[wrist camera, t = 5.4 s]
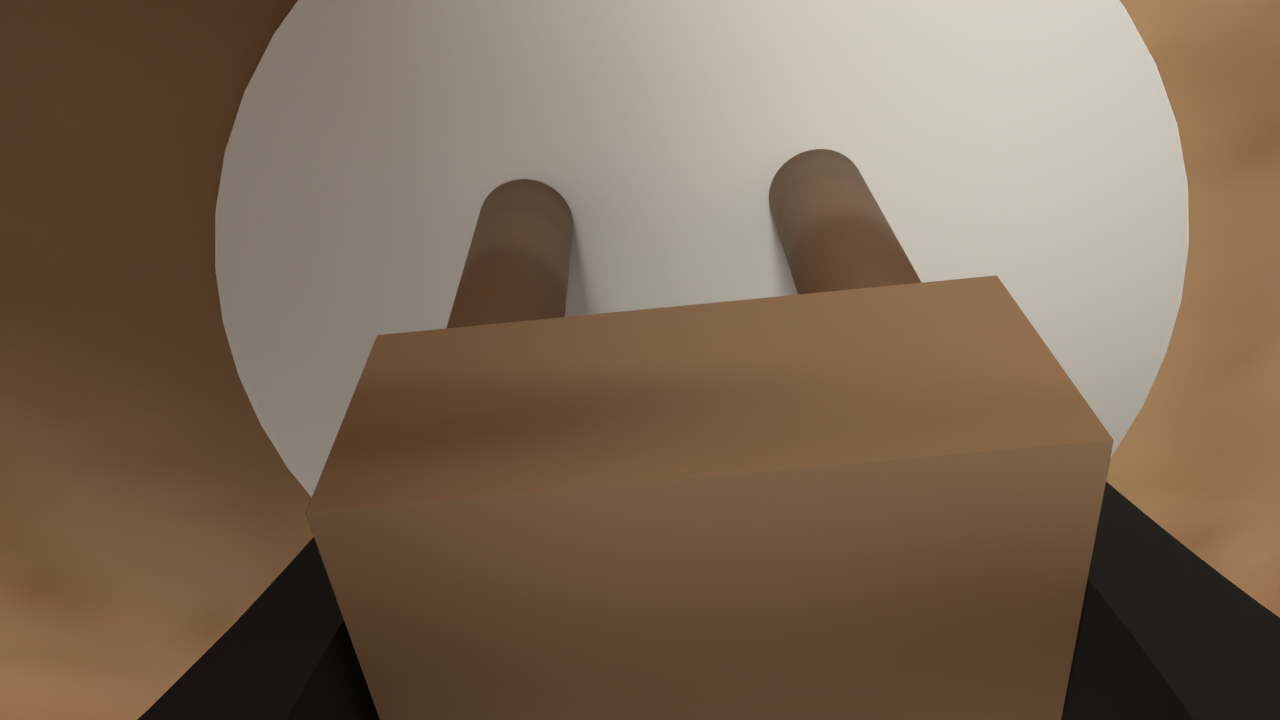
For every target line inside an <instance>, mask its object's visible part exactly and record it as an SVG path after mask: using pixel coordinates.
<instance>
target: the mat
mask: <svg viewBox="0 0 1280 720" xmlns="http://www.w3.org/2000/svg"><path fill="white" fill-rule="evenodd" d="M814 149H828V150H833V151H836V152H839V153H841V154H843V155H845V156H846V157H848V158H849V159H850V160H851V161H852V162H853V163H854V164H855V165H856V167H857V168H858V170H859V172H860V173H861V175H862V177H863V179H864V181H865V182H866V184H867V186H868V188H869V189H870V191H871V193H872V195H873V197H874V198H875V200H876V202H877V204H878V206H879V207H880V209H881V211H882V213H883V214H884V216H885V218H886V220H887V222H888V223H889V225H890V227H891V229H892V230H893V232H894V234H895V236H896V238H897V239H898V241H899V243H900V245H901V247H902V248H903V250H904V252H905V254H906V255H907V257H908V259H909V261H910V263H911V264H912V266H913V268H914V270H915V271H916V273H917V275H918V277H919V279H920V280H921V282H922V283H923V282H934V281H944V280H954V279H965V278H975V277H985V276H996V275H997V276H998V278H999V279H1000V280H1001V282H1002V283H1003V285H1004V286H1005V288H1006V289H1007V290H1008V292H1009V293H1010V295H1011V296H1012V297H1013V299H1014V300H1015V302H1016V303H1017V304H1018V306H1019V307H1020V309H1021V310H1022V312H1023V313H1024V314H1025V316H1026V317H1027V319H1028V320H1029V321H1030V323H1031V324H1032V326H1033V327H1034V328H1035V330H1036V331H1037V333H1038V334H1039V335H1040V337H1041V338H1042V340H1043V341H1044V343H1045V344H1046V345H1047V347H1048V348H1049V350H1050V351H1051V352H1052V354H1053V355H1054V357H1055V358H1056V359H1057V361H1058V362H1059V364H1060V365H1061V367H1062V368H1063V369H1064V371H1065V372H1066V374H1067V375H1068V376H1069V378H1070V379H1071V381H1072V382H1073V383H1074V385H1075V386H1076V388H1077V389H1078V391H1079V392H1080V393H1081V395H1082V396H1083V398H1084V399H1085V400H1086V402H1087V403H1088V405H1089V406H1090V407H1091V409H1092V410H1093V412H1094V413H1095V415H1096V416H1097V417H1098V419H1099V420H1100V422H1101V423H1102V424H1103V426H1104V427H1105V429H1106V430H1107V431H1108V433H1109V434H1110V436H1111V437H1112V438H1113V440H1114V441H1113V447H1112V452H1111V456H1112V455H1113V454H1114V452H1115V451H1116V449H1117V448H1118V446H1119V444H1120V443H1121V441H1122V439H1123V438H1124V436H1125V434H1126V433H1127V431H1128V430H1129V428H1130V426H1131V425H1132V423H1133V421H1134V420H1135V418H1136V416H1137V415H1138V413H1139V412H1140V410H1141V408H1142V407H1143V405H1144V402H1145V400H1146V398H1147V396H1148V394H1149V391H1150V389H1151V387H1152V385H1153V382H1154V380H1155V378H1156V376H1157V373H1158V371H1159V369H1160V367H1161V364H1162V362H1163V360H1164V358H1165V355H1166V352H1167V348H1168V345H1169V341H1170V338H1171V334H1172V331H1173V328H1174V324H1175V321H1176V317H1177V314H1178V310H1179V307H1180V303H1181V298H1182V291H1183V284H1184V276H1185V269H1186V262H1187V255H1188V247H1189V221H1188V183H1187V177H1186V171H1185V166H1184V160H1183V154H1182V149H1181V143H1180V137H1179V132H1178V126H1177V123H1176V120H1175V117H1174V114H1173V111H1172V108H1171V105H1170V103H1169V100H1168V97H1167V94H1166V91H1165V88H1164V85H1163V83H1162V80H1161V77H1160V74H1159V71H1158V68H1157V65H1156V63H1155V62H1154V60H1153V58H1152V56H1151V54H1150V53H1149V51H1148V49H1147V47H1146V45H1145V43H1144V42H1143V40H1142V38H1141V36H1140V34H1139V32H1138V31H1137V29H1136V27H1135V25H1134V23H1133V22H1132V20H1131V18H1130V16H1129V14H1128V12H1127V11H1126V9H1125V7H1124V6H1123V4H1122V3H1121V2H1120V1H1119V0H298V1H297V3H296V4H295V5H294V7H293V8H292V9H291V11H290V12H289V14H288V15H287V16H286V18H285V19H284V21H283V22H282V23H281V25H280V26H279V27H278V29H277V30H276V32H275V33H274V35H273V37H272V39H271V41H270V42H269V44H268V46H267V48H266V50H265V52H264V54H263V56H262V58H261V60H260V62H259V64H258V66H257V68H256V70H255V72H254V74H253V76H252V78H251V80H250V82H249V84H248V86H247V88H246V90H245V92H244V94H243V98H242V101H241V104H240V107H239V110H238V113H237V116H236V119H235V122H234V125H233V128H232V132H231V135H230V138H229V141H228V144H227V147H226V150H225V154H224V161H223V167H222V173H221V180H220V186H219V192H218V198H217V205H216V211H215V271H216V278H217V285H218V292H219V299H220V305H221V312H222V319H223V325H224V328H225V332H226V335H227V338H228V342H229V345H230V349H231V352H232V355H233V359H234V362H235V366H236V369H237V372H238V376H239V378H240V380H241V382H242V385H243V387H244V389H245V391H246V393H247V396H248V398H249V400H250V402H251V404H252V407H253V409H254V411H255V413H256V416H257V418H258V420H259V422H260V424H261V426H262V427H263V429H264V431H265V432H266V434H267V435H268V437H269V439H270V440H271V442H272V444H273V445H274V447H275V448H276V450H277V452H278V453H279V455H280V456H281V458H282V460H283V461H284V463H285V464H286V466H287V468H288V469H289V470H290V471H291V473H292V474H293V475H294V476H295V478H296V479H297V480H298V481H299V483H300V484H301V485H302V486H303V487H304V489H305V490H306V491H307V492H308V494H309V495H310V496H311V497H312V496H313V493H314V491H315V488H316V486H317V483H318V481H319V478H320V476H321V473H322V471H323V468H324V466H325V463H326V461H327V458H328V456H329V454H330V451H331V449H332V446H333V444H334V441H335V439H336V436H337V434H338V431H339V429H340V426H341V424H342V421H343V419H344V416H345V414H346V411H347V409H348V406H349V404H350V401H351V399H352V396H353V394H354V391H355V389H356V386H357V384H358V381H359V379H360V377H361V374H362V372H363V369H364V367H365V364H366V362H367V359H368V357H369V354H370V352H371V349H372V347H373V344H374V342H375V339H376V337H377V335H384V334H394V333H405V332H415V331H425V330H436V329H446V328H447V324H448V321H449V317H450V314H451V310H452V307H453V303H454V300H455V296H456V293H457V290H458V286H459V283H460V279H461V276H462V272H463V269H464V265H465V262H466V259H467V255H468V252H469V248H470V245H471V241H472V238H473V234H474V231H475V227H476V224H477V221H478V217H479V214H480V210H481V207H482V205H483V202H484V200H485V199H486V198H487V196H488V195H489V194H490V193H491V192H492V191H493V190H494V189H495V188H496V187H498V186H500V185H501V184H504V183H506V182H509V181H512V180H518V179H530V180H535V181H539V182H542V183H545V184H547V185H549V186H550V187H552V188H553V189H555V190H556V191H557V192H558V193H560V195H561V196H562V197H563V198H564V199H565V201H566V202H567V204H568V206H569V208H570V210H571V213H572V218H573V233H572V244H571V255H570V266H569V278H568V289H567V300H566V311H565V317H571V316H581V315H591V314H602V313H612V312H622V311H633V310H643V309H653V308H664V307H674V306H685V305H695V304H705V303H716V302H726V301H736V300H747V299H757V298H768V297H778V296H788V295H798V292H797V289H796V286H795V283H794V280H793V277H792V274H791V271H790V268H789V265H788V262H787V259H786V256H785V253H784V250H783V246H782V243H781V240H780V237H779V234H778V231H777V228H776V225H775V222H774V219H773V216H772V213H771V210H770V206H769V190H770V186H771V183H772V180H773V178H774V176H775V174H776V173H777V171H778V170H779V169H780V168H781V166H782V165H783V164H784V163H786V162H787V161H788V160H789V159H791V158H792V157H794V156H796V155H797V154H800V153H802V152H805V151H808V150H814Z"/></svg>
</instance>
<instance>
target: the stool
mask: <svg viewBox="0 0 1280 720" xmlns="http://www.w3.org/2000/svg"><path fill="white" fill-rule="evenodd" d="M769 206H770V210H771V213H772V216H773V219H774V222H775V225H776V228H777V231H778V234H779V237H780V240H781V243H782V246H783V250H784V253H785V256H786V259H787V262H788V265H789V268H790V271H791V274H792V277H793V280H794V283H795V286H796V289H797V292H798V295H788V296H778V297H768V298H757V299H747V300H736V301H726V302H716V303H705V304H695V305H685V306H674V307H664V308H653V309H643V310H633V311H622V312H612V313H602V314H591V315H581V316H571V317H565V311H566V300H567V289H568V278H569V266H570V255H571V244H572V233H573V218H572V213H571V210H570V208H569V206H568V204H567V202H566V201H565V199H564V198H563V197H562V196H561V195H560V193H558V192H557V191H556V190H555V189H553V188H552V187H550V186H549V185H547V184H545V183H542V182H539V181H535V180H530V179H518V180H512V181H509V182H506V183H504V184H501V185H500V186H498V187H496V188H495V189H494V190H493V191H492V192H491V193H490V194H489V195H488V196H487V198H486V199H485V200H484V202H483V205H482V207H481V210H480V214H479V217H478V221H477V224H476V227H475V231H474V234H473V238H472V241H471V245H470V248H469V252H468V255H467V259H466V262H465V265H464V269H463V272H462V276H461V279H460V283H459V286H458V290H457V293H456V296H455V300H454V303H453V307H452V310H451V314H450V317H449V321H448V324H447V328H446V329H436V330H425V331H415V332H405V333H394V334H384V335H377V337H376V339H375V342H374V344H373V347H372V349H371V352H370V354H369V357H368V359H367V362H366V364H365V367H364V369H363V372H362V374H361V377H360V379H359V381H358V384H357V386H356V389H355V391H354V394H353V396H352V399H351V401H350V404H349V406H348V409H347V411H346V414H345V416H344V419H343V421H342V424H341V426H340V429H339V431H338V434H337V436H336V439H335V441H334V444H333V446H332V449H331V451H330V454H329V456H328V458H327V461H326V463H325V466H324V468H323V471H322V473H321V476H320V478H319V481H318V483H317V486H316V488H315V491H314V493H313V496H312V498H311V501H310V503H309V506H308V508H307V511H306V516H307V519H308V521H309V524H310V527H311V530H312V533H313V535H314V538H315V541H316V544H317V546H318V549H319V552H320V555H321V558H322V560H323V563H324V566H325V569H326V571H327V574H328V577H329V580H330V583H331V585H332V588H333V591H334V594H335V596H336V599H337V602H338V605H339V608H340V610H341V613H342V616H343V619H344V621H345V624H346V627H347V630H348V632H349V635H350V638H351V641H352V644H353V646H354V649H355V652H356V655H357V657H358V660H359V663H360V666H361V669H362V671H363V674H364V677H365V680H366V682H367V685H368V688H369V691H370V694H371V696H372V699H373V702H374V705H375V707H376V710H377V713H378V716H379V719H380V720H1061V718H1062V712H1063V707H1064V702H1065V696H1066V691H1067V686H1068V680H1069V675H1070V670H1071V664H1072V659H1073V654H1074V649H1075V643H1076V638H1077V633H1078V627H1079V622H1080V617H1081V611H1082V606H1083V601H1084V595H1085V590H1086V585H1087V579H1088V574H1089V569H1090V563H1091V558H1092V553H1093V548H1094V542H1095V537H1096V532H1097V526H1098V521H1099V516H1100V510H1101V505H1102V500H1103V494H1104V489H1105V484H1106V478H1107V473H1108V468H1109V462H1110V457H1111V452H1112V447H1113V441H1114V440H1113V438H1112V437H1111V436H1110V434H1109V433H1108V431H1107V430H1106V429H1105V427H1104V426H1103V424H1102V423H1101V422H1100V420H1099V419H1098V417H1097V416H1096V415H1095V413H1094V412H1093V410H1092V409H1091V407H1090V406H1089V405H1088V403H1087V402H1086V400H1085V399H1084V398H1083V396H1082V395H1081V393H1080V392H1079V391H1078V389H1077V388H1076V386H1075V385H1074V383H1073V382H1072V381H1071V379H1070V378H1069V376H1068V375H1067V374H1066V372H1065V371H1064V369H1063V368H1062V367H1061V365H1060V364H1059V362H1058V361H1057V359H1056V358H1055V357H1054V355H1053V354H1052V352H1051V351H1050V350H1049V348H1048V347H1047V345H1046V344H1045V343H1044V341H1043V340H1042V338H1041V337H1040V335H1039V334H1038V333H1037V331H1036V330H1035V328H1034V327H1033V326H1032V324H1031V323H1030V321H1029V320H1028V319H1027V317H1026V316H1025V314H1024V313H1023V312H1022V310H1021V309H1020V307H1019V306H1018V304H1017V303H1016V302H1015V300H1014V299H1013V297H1012V296H1011V295H1010V293H1009V292H1008V290H1007V289H1006V288H1005V286H1004V285H1003V283H1002V282H1001V280H1000V279H999V278H998V276H997V275H996V276H985V277H975V278H965V279H954V280H944V281H934V282H923V283H922V282H921V280H920V279H919V277H918V275H917V273H916V271H915V270H914V268H913V266H912V264H911V263H910V261H909V259H908V257H907V255H906V254H905V252H904V250H903V248H902V247H901V245H900V243H899V241H898V239H897V238H896V236H895V234H894V232H893V230H892V229H891V227H890V225H889V223H888V222H887V220H886V218H885V216H884V214H883V213H882V211H881V209H880V207H879V206H878V204H877V202H876V200H875V198H874V197H873V195H872V193H871V191H870V189H869V188H868V186H867V184H866V182H865V181H864V179H863V177H862V175H861V173H860V172H859V170H858V168H857V167H856V165H855V164H854V163H853V162H852V161H851V160H850V159H849V158H848V157H846V156H845V155H843V154H841V153H839V152H836V151H833V150H828V149H814V150H808V151H805V152H802V153H800V154H797V155H796V156H794V157H792V158H791V159H789V160H788V161H787V162H786V163H784V164H783V165H782V166H781V168H780V169H779V170H778V171H777V173H776V174H775V176H774V178H773V180H772V183H771V186H770V190H769Z"/></svg>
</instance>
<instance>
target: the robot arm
mask: <svg viewBox="0 0 1280 720" xmlns="http://www.w3.org/2000/svg"><path fill="white" fill-rule="evenodd" d="M138 720H380V719H379V716H378V713H377V710H376V707H375V705H374V702H373V699H372V696H371V694H370V691H369V688H368V685H367V682H366V680H365V677H364V674H363V671H362V669H361V666H360V663H359V660H358V657H357V655H356V652H355V649H354V646H353V644H352V641H351V638H350V635H349V632H348V630H347V627H346V624H345V621H344V619H343V616H342V613H341V610H340V608H339V605H338V602H337V599H336V596H335V594H334V591H333V588H332V585H331V583H330V580H329V577H328V574H327V571H326V569H325V566H324V563H323V560H322V558H321V555H320V552H319V549H318V546H317V544H316V541H315V538H314V537H313V538H312V539H311V541H310V542H309V543H308V544H307V545H306V546H305V547H304V548H303V550H302V551H301V552H300V553H299V554H298V555H297V556H296V557H295V558H294V560H293V561H292V562H291V563H290V564H289V565H288V566H287V567H286V569H285V570H284V571H283V572H282V573H281V574H280V575H279V576H278V577H277V578H276V579H275V581H274V582H273V583H272V584H271V585H270V586H269V587H268V588H267V589H266V590H265V591H264V592H263V593H262V595H261V596H260V597H259V598H258V599H257V600H256V601H255V602H254V603H253V604H252V605H251V606H250V608H249V609H248V610H247V611H246V612H245V613H244V614H243V615H242V616H241V617H240V618H239V619H238V621H237V622H236V623H235V624H234V625H233V626H232V627H231V628H230V629H229V630H228V631H227V632H226V633H225V634H224V635H223V636H222V637H221V638H220V639H219V640H218V641H217V642H216V643H215V644H214V645H213V646H212V647H211V648H210V649H209V650H208V651H207V652H206V653H205V654H204V655H203V656H202V657H201V658H200V659H199V660H198V661H197V662H196V663H195V664H194V665H193V666H192V667H191V668H190V669H189V670H188V671H187V672H186V673H185V674H184V675H183V676H182V677H181V678H180V679H179V680H178V681H177V682H176V683H175V684H174V685H173V686H172V687H171V688H170V689H169V690H168V691H167V692H166V693H165V694H164V695H163V696H162V697H161V698H160V699H159V700H158V701H157V702H156V703H155V704H154V705H153V706H152V707H151V708H150V709H149V710H147V711H146V712H145V713H144V714H143V715H142V716H141V717H140V718H139V719H138ZM1061 720H1280V618H1279V617H1278V616H1276V615H1275V614H1274V613H1272V612H1271V611H1269V610H1268V609H1266V608H1265V607H1264V606H1262V605H1261V604H1260V603H1258V602H1257V601H1256V600H1254V599H1253V598H1252V597H1250V596H1249V595H1248V594H1246V593H1245V592H1244V591H1242V590H1241V589H1240V588H1238V587H1237V586H1236V585H1234V584H1233V583H1232V582H1230V581H1229V580H1228V579H1226V578H1225V577H1224V576H1222V575H1221V574H1220V573H1218V572H1217V571H1216V570H1215V569H1213V568H1212V567H1211V566H1209V565H1208V564H1207V563H1206V562H1204V561H1203V560H1202V559H1200V558H1199V557H1198V556H1197V555H1195V554H1194V553H1193V552H1191V551H1190V550H1189V549H1188V548H1186V547H1185V546H1184V545H1183V544H1181V543H1180V542H1179V541H1178V540H1176V539H1175V538H1174V537H1173V536H1171V535H1170V534H1169V533H1168V532H1166V531H1165V530H1164V529H1163V528H1161V527H1160V526H1159V525H1158V524H1157V523H1155V522H1154V521H1153V520H1152V519H1150V518H1149V517H1148V516H1147V515H1146V514H1144V513H1143V512H1142V511H1141V510H1139V509H1138V508H1137V507H1136V506H1135V505H1133V504H1132V503H1131V502H1130V501H1129V500H1128V499H1126V498H1125V497H1124V496H1123V495H1122V494H1120V493H1119V492H1118V491H1117V490H1116V489H1114V488H1113V487H1112V486H1111V485H1110V484H1108V483H1107V482H1106V484H1105V489H1104V494H1103V500H1102V505H1101V510H1100V516H1099V521H1098V526H1097V532H1096V537H1095V542H1094V548H1093V553H1092V558H1091V563H1090V569H1089V574H1088V579H1087V585H1086V590H1085V595H1084V601H1083V606H1082V611H1081V617H1080V622H1079V627H1078V633H1077V638H1076V643H1075V649H1074V654H1073V659H1072V664H1071V670H1070V675H1069V680H1068V686H1067V691H1066V696H1065V702H1064V707H1063V712H1062V718H1061Z"/></svg>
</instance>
